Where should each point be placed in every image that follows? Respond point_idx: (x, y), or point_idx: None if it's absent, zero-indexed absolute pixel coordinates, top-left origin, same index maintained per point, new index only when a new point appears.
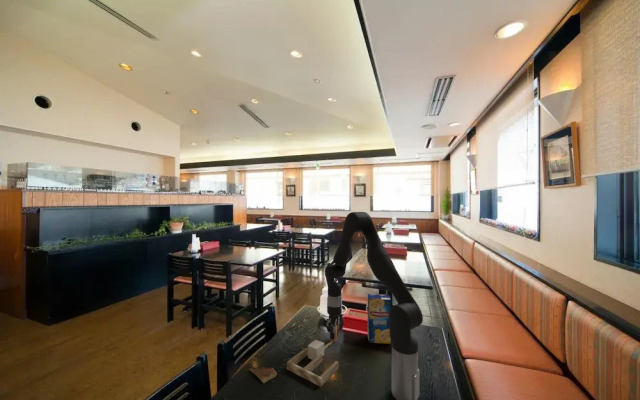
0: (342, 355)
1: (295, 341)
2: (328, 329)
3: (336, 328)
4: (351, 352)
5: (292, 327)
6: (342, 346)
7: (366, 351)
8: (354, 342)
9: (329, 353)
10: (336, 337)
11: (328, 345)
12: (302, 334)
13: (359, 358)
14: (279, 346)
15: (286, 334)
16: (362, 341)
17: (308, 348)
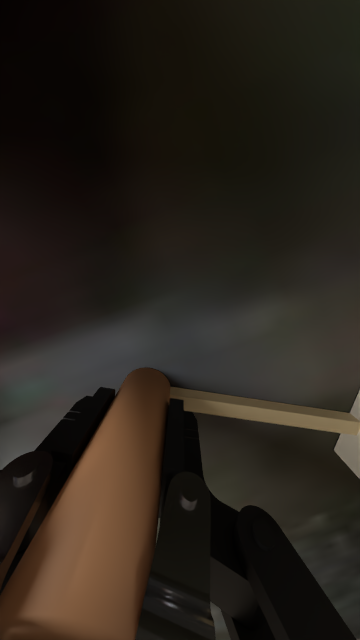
0: (327, 251)
1: None
2: (262, 629)
3: (108, 512)
4: (254, 186)
5: None
6: (195, 299)
7: (173, 15)
8: (78, 216)
9: (329, 358)
10: (145, 390)
11: (247, 403)
12: None
13: (330, 60)
14: (341, 609)
15: (217, 627)
16: (11, 135)
17: None
